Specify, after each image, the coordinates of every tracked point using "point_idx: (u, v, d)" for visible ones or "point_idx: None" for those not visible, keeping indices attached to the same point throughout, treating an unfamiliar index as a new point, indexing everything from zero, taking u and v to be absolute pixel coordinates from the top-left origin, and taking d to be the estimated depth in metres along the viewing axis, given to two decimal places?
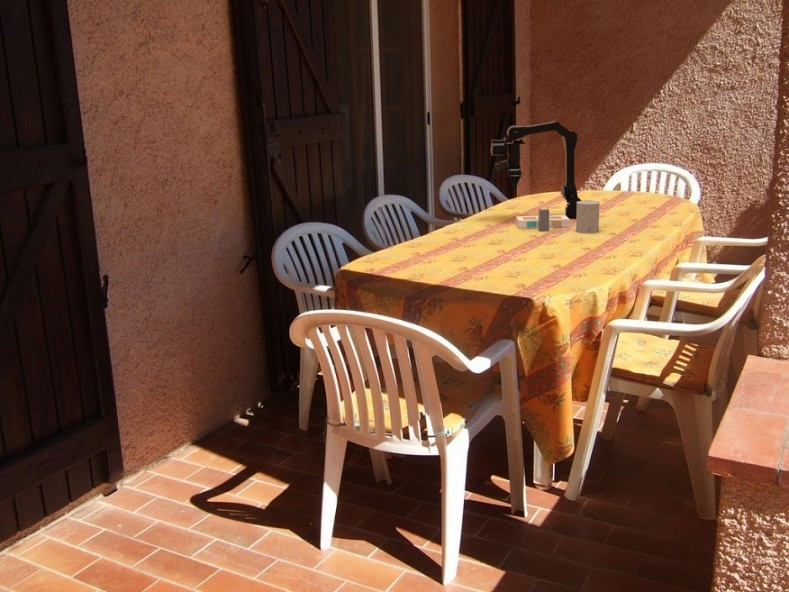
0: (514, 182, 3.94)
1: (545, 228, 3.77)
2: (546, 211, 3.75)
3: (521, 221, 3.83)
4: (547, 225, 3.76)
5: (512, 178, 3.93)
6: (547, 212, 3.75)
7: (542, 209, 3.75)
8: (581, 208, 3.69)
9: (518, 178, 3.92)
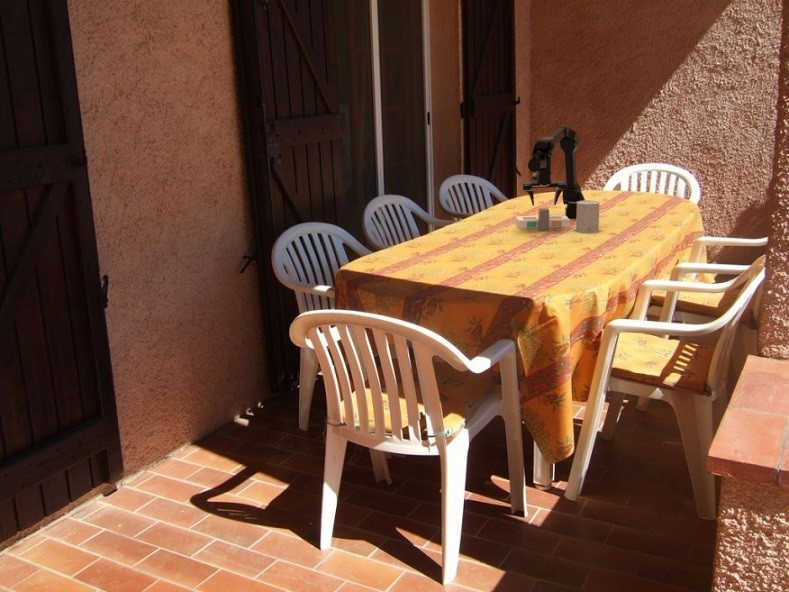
0: (530, 197, 3.75)
1: (545, 228, 3.77)
2: (546, 211, 3.75)
3: (521, 221, 3.83)
4: (547, 225, 3.76)
5: None
6: (547, 212, 3.75)
7: (542, 209, 3.75)
8: (581, 208, 3.69)
9: None
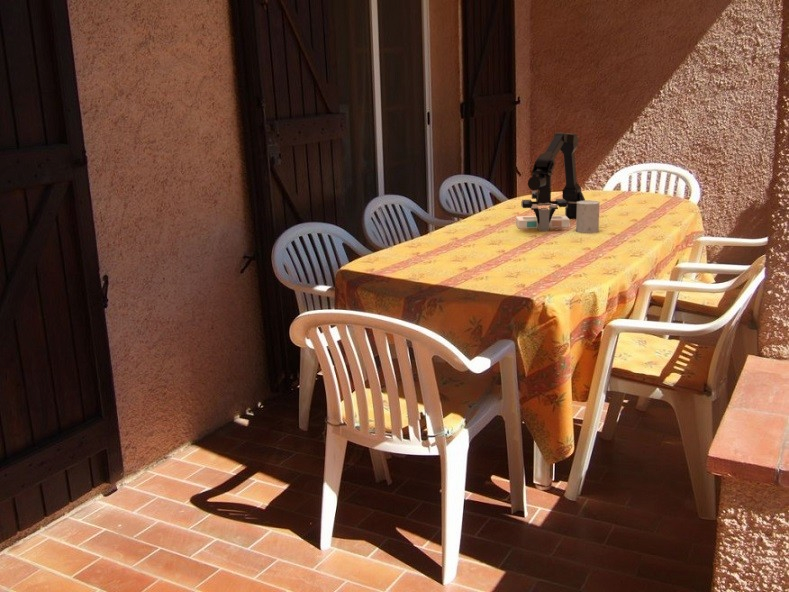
0: (535, 214, 3.77)
1: (545, 228, 3.77)
2: (546, 211, 3.75)
3: (521, 221, 3.83)
4: (547, 225, 3.76)
5: None
6: (547, 212, 3.75)
7: (542, 209, 3.75)
8: (581, 208, 3.69)
9: (535, 211, 3.75)
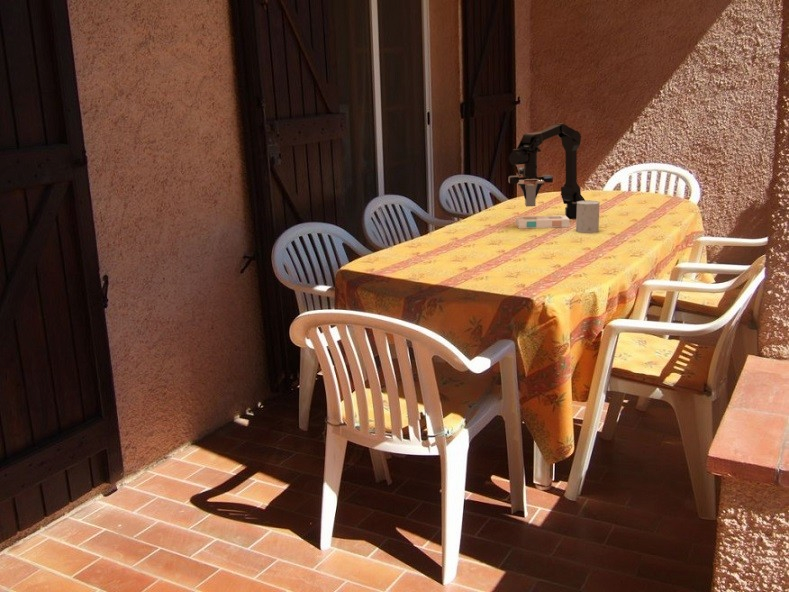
0: (522, 190, 3.84)
1: (532, 204, 3.84)
2: (532, 187, 3.82)
3: (521, 221, 3.83)
4: (534, 200, 3.84)
5: None
6: (533, 187, 3.82)
7: (529, 185, 3.82)
8: (581, 208, 3.69)
9: None
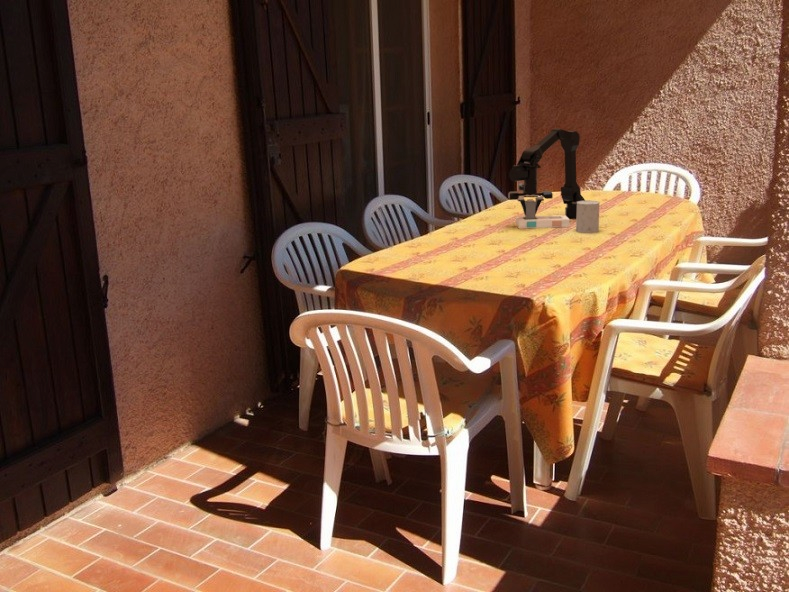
0: (522, 206, 3.86)
1: None
2: (532, 202, 3.84)
3: (521, 221, 3.83)
4: (533, 216, 3.85)
5: None
6: (533, 203, 3.84)
7: (528, 201, 3.84)
8: (581, 208, 3.69)
9: None
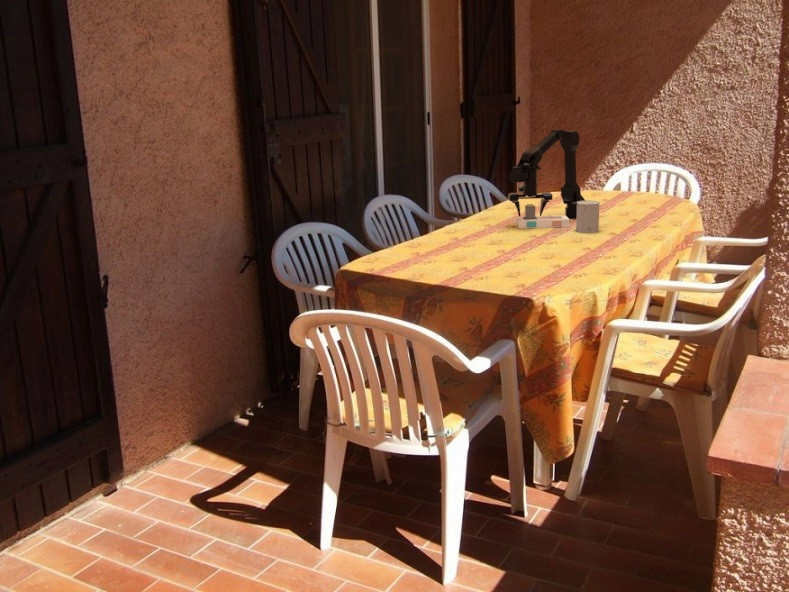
0: None
1: None
2: (532, 207, 3.84)
3: (521, 221, 3.83)
4: None
5: None
6: (533, 208, 3.84)
7: (528, 205, 3.85)
8: (581, 208, 3.69)
9: (515, 204, 3.84)
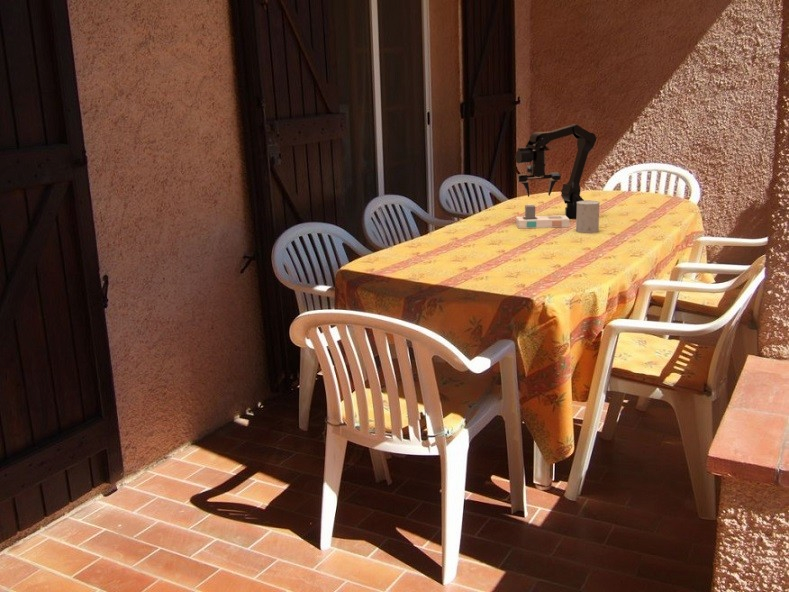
0: (525, 188, 3.94)
1: None
2: (532, 207, 3.84)
3: (521, 221, 3.83)
4: None
5: None
6: (533, 208, 3.84)
7: (528, 205, 3.85)
8: (581, 208, 3.69)
9: (525, 185, 3.92)
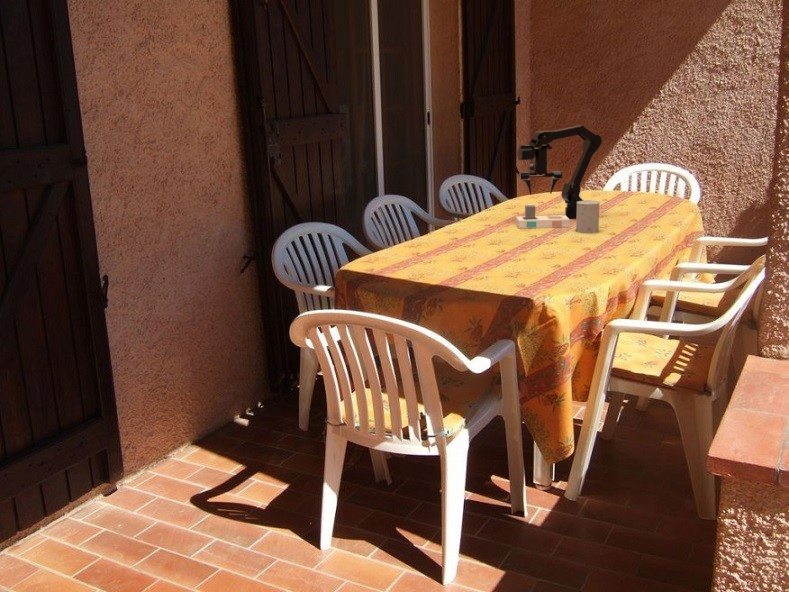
0: (527, 186, 3.97)
1: None
2: (532, 207, 3.84)
3: (521, 221, 3.83)
4: None
5: None
6: (533, 208, 3.84)
7: (528, 205, 3.85)
8: (581, 208, 3.69)
9: (526, 182, 3.95)
